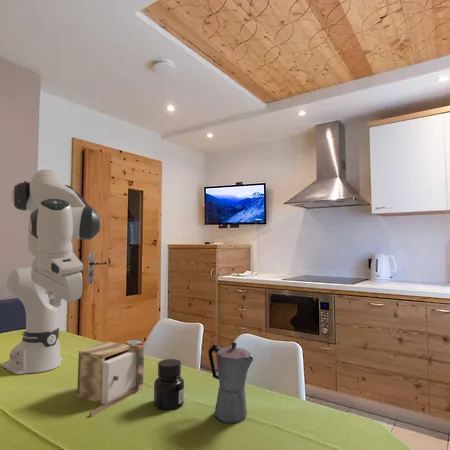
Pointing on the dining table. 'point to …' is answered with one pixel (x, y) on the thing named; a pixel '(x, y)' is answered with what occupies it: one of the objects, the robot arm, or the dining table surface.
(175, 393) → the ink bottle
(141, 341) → the soda can
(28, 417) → the dining table surface
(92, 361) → the cabinet
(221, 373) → the moka pot
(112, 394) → the door
